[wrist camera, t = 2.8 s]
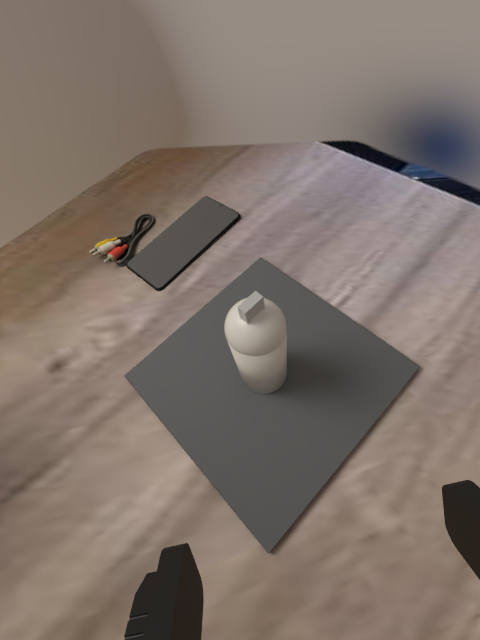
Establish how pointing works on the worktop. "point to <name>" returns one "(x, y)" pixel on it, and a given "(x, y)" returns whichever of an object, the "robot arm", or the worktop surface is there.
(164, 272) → the smartphone
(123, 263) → the composite cable
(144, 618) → the robot arm
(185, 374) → the mat
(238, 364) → the white pump bottle
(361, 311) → the worktop surface
